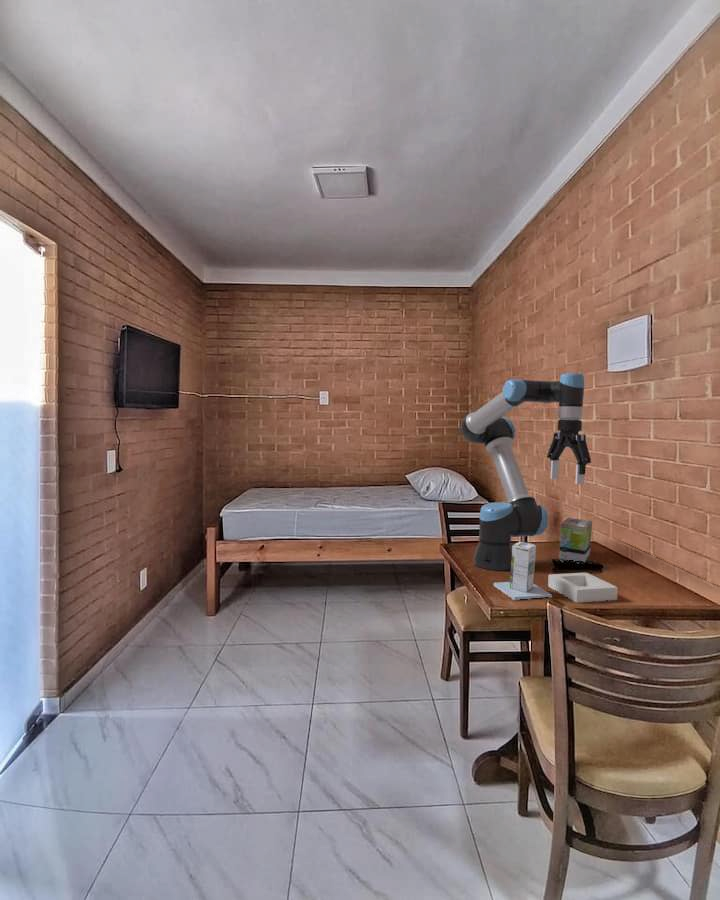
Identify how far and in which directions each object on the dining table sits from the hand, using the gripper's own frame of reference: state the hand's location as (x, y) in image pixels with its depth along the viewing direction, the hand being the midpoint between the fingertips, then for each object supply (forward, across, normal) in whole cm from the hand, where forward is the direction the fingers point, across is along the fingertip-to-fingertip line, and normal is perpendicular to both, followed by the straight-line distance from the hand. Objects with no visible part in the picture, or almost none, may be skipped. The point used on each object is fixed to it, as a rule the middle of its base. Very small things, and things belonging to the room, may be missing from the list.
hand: (566, 481), depth 166 cm
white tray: (+35, -12, +1) cm, 37 cm away
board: (+35, -8, +20) cm, 41 cm away
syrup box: (+34, -8, +20) cm, 40 cm away
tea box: (+35, +25, -24) cm, 49 cm away
